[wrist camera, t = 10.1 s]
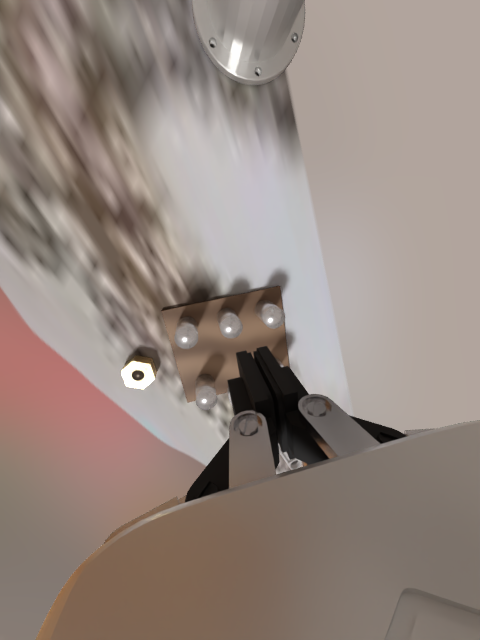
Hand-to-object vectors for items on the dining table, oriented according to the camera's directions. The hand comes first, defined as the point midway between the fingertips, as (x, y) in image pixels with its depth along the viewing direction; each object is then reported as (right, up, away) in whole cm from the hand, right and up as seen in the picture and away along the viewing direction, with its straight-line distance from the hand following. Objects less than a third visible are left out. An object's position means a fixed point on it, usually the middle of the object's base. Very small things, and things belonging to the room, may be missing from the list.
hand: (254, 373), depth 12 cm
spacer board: (-2, -1, +25) cm, 25 cm away
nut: (-16, -5, +24) cm, 29 cm away
